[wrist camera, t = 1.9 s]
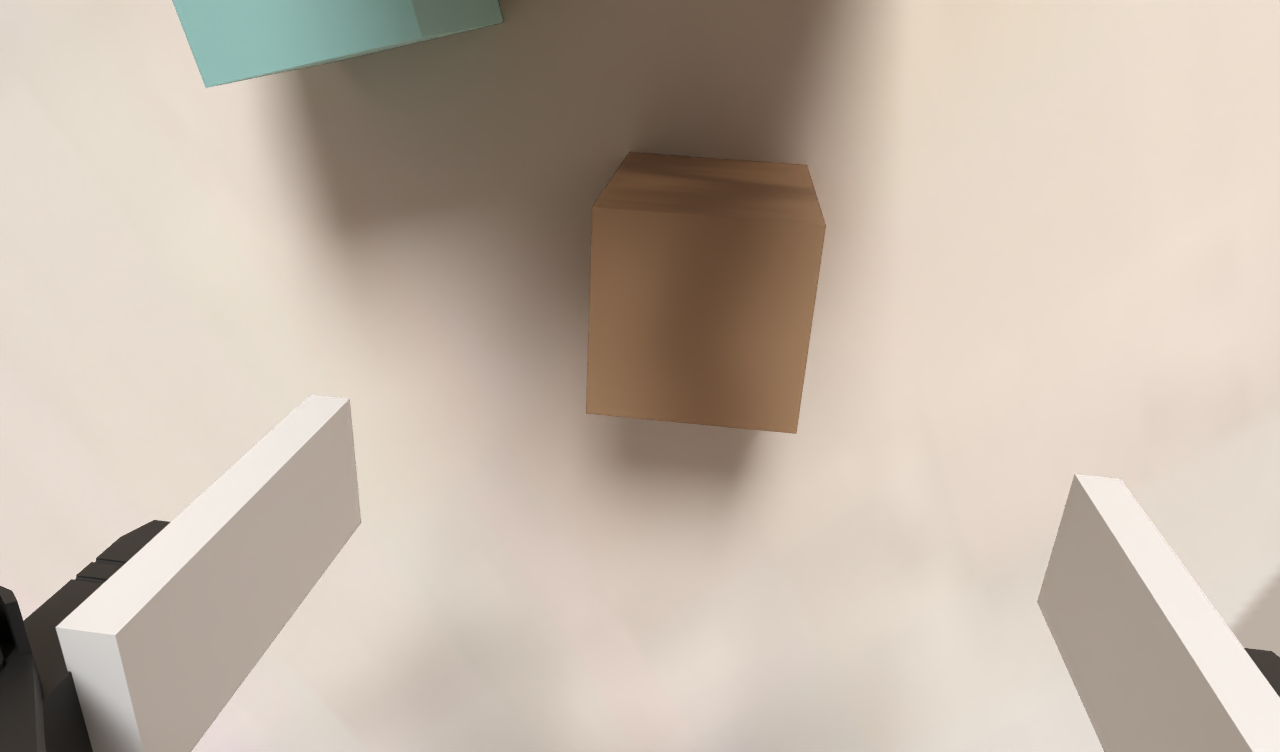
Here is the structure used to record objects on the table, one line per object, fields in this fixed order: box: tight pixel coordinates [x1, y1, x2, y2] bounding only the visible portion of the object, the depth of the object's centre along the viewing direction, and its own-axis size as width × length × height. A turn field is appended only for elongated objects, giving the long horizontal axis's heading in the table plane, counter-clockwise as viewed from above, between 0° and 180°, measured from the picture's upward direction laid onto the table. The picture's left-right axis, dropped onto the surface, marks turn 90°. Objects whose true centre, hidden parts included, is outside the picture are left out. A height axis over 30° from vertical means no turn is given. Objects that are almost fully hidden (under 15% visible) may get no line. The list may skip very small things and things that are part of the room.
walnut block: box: [586, 152, 826, 434], centre depth 28 cm, size 6×6×8 cm
